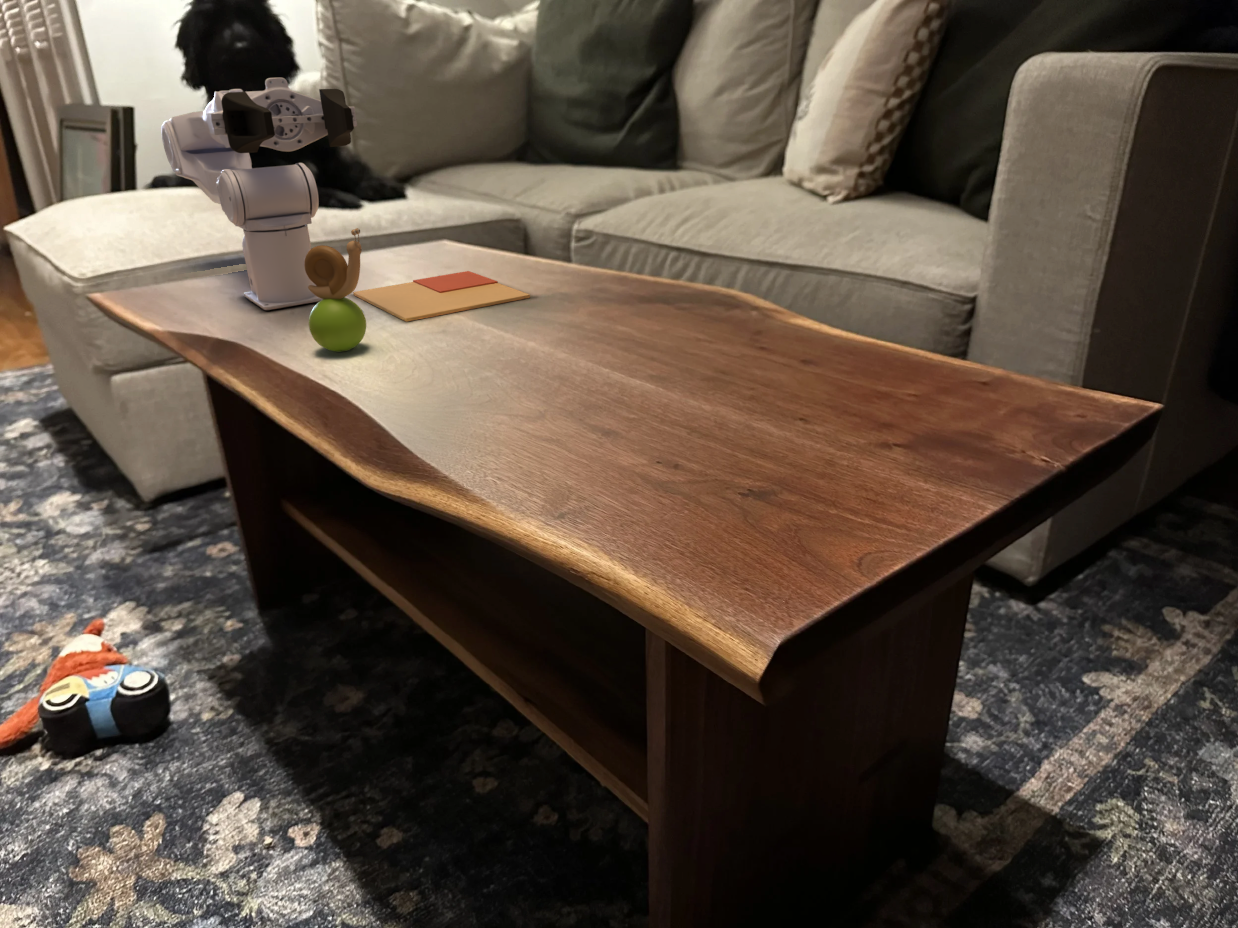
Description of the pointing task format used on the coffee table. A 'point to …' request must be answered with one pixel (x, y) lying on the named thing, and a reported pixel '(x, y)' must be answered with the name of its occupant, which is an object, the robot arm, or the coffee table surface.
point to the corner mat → (439, 295)
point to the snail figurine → (335, 296)
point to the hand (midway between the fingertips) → (310, 121)
